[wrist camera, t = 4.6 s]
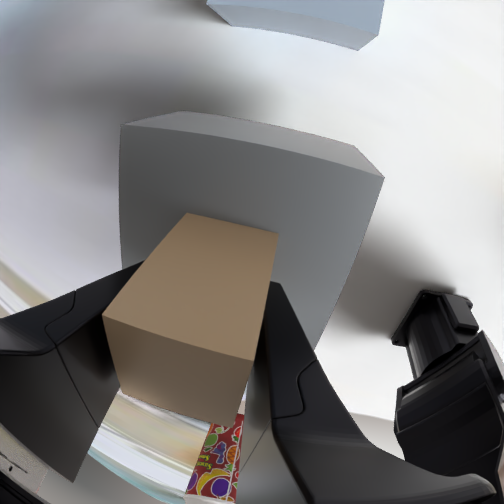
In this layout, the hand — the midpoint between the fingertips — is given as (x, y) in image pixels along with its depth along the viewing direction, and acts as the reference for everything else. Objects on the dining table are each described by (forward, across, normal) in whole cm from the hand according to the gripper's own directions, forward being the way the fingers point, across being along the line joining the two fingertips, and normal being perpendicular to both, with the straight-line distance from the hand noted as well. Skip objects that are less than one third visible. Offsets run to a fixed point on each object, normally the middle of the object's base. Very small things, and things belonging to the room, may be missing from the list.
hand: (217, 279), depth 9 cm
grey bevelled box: (+6, 0, 0) cm, 6 cm away
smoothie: (+13, -3, +34) cm, 36 cm away
